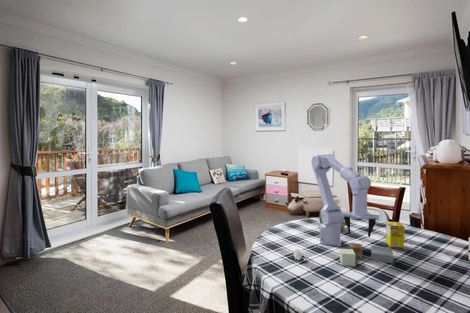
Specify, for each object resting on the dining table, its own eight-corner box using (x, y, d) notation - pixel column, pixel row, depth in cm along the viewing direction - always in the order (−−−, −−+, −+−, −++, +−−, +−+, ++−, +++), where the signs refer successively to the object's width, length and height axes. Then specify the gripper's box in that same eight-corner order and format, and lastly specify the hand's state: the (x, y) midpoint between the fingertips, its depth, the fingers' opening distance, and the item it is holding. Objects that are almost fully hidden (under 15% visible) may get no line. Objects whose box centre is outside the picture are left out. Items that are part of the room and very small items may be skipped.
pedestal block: (371, 260, 114) (371, 252, 114) (371, 253, 121) (371, 245, 121) (393, 264, 110) (393, 256, 110) (392, 256, 118) (392, 248, 117)
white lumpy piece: (295, 253, 122) (295, 245, 122) (311, 259, 116) (311, 250, 116) (284, 260, 116) (284, 250, 116) (300, 266, 110) (300, 256, 110)
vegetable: (343, 230, 143) (317, 215, 149) (336, 240, 153) (312, 225, 159) (352, 213, 150) (326, 199, 155) (344, 224, 160) (321, 210, 165)
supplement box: (404, 249, 124) (404, 226, 123) (390, 248, 125) (390, 225, 124) (399, 244, 130) (399, 222, 129) (385, 243, 131) (386, 221, 130)
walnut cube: (349, 257, 116) (349, 246, 116) (350, 253, 121) (350, 242, 120) (362, 260, 114) (362, 248, 114) (362, 255, 119) (362, 244, 118)
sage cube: (342, 265, 110) (342, 253, 109) (339, 260, 115) (339, 248, 114) (355, 266, 109) (355, 254, 108) (352, 260, 114) (352, 249, 113)
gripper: (341, 204, 115) (341, 236, 116) (379, 207, 110) (379, 240, 111) (341, 201, 122) (341, 230, 123) (377, 203, 116) (377, 234, 117)
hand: (359, 235), depth 117 cm, fingers open, 7 cm apart
